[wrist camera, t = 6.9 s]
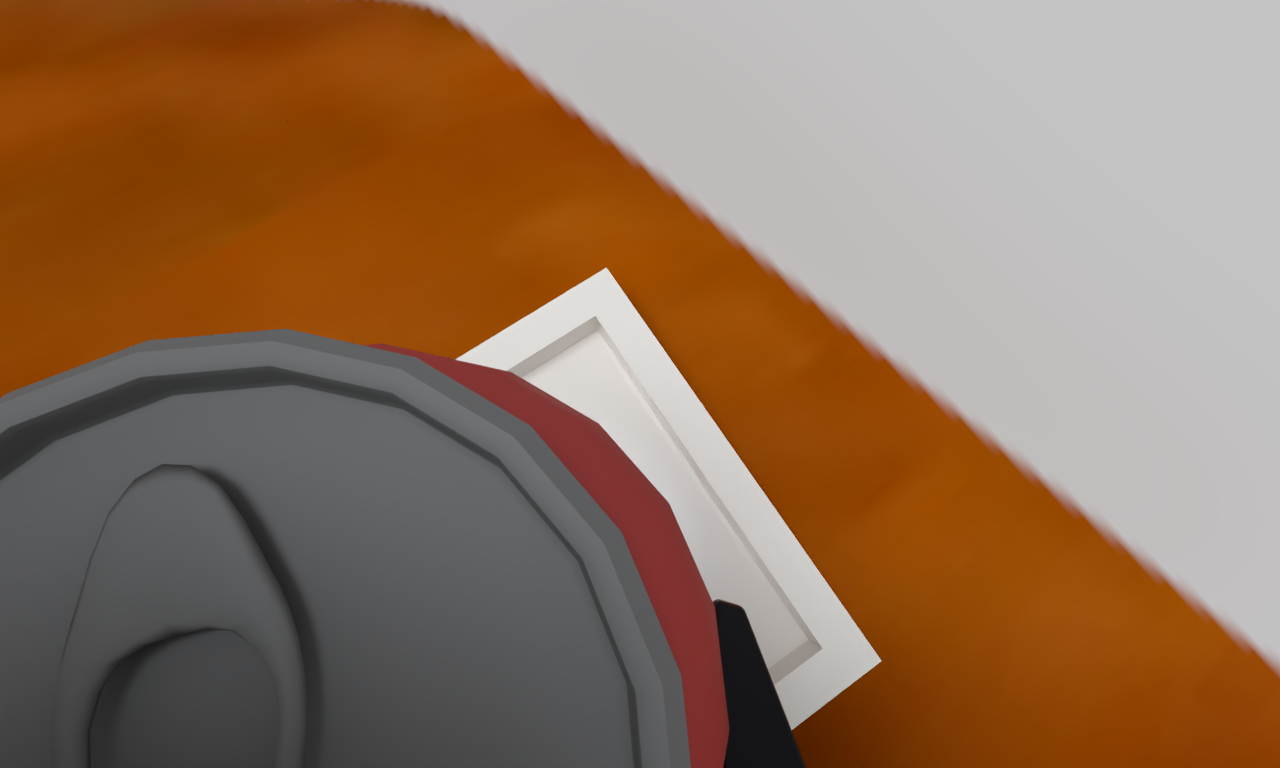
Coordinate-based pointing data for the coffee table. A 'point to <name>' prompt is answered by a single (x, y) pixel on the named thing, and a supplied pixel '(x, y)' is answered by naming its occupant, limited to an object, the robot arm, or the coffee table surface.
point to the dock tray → (690, 482)
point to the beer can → (338, 570)
